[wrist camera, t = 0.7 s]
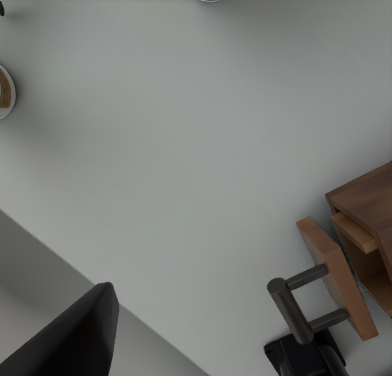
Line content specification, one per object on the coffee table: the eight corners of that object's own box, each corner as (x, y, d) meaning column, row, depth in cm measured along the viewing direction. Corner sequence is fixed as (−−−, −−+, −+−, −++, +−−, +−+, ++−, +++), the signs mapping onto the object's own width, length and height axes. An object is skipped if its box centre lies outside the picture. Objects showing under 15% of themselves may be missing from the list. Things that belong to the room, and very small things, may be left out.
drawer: (286, 315, 25) (309, 364, 21) (247, 246, 23) (262, 284, 18) (441, 246, 23) (502, 283, 19) (416, 162, 21) (481, 182, 16)
